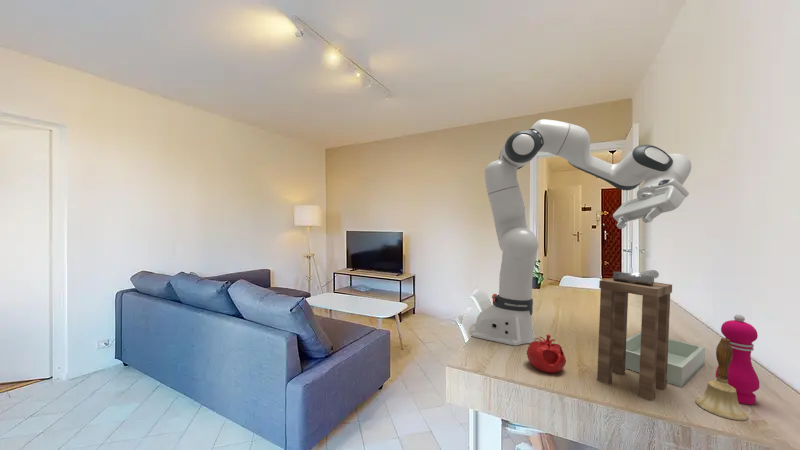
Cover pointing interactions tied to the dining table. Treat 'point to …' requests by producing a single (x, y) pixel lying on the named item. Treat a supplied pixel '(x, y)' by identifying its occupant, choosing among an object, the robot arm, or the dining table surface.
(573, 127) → the robot arm
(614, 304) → the stand
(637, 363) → the tray
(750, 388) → the pepper mill
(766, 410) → the dining table surface
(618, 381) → the dining table surface
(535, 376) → the dining table surface
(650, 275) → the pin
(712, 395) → the hand bell
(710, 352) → the dining table surface
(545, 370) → the pomegranate
